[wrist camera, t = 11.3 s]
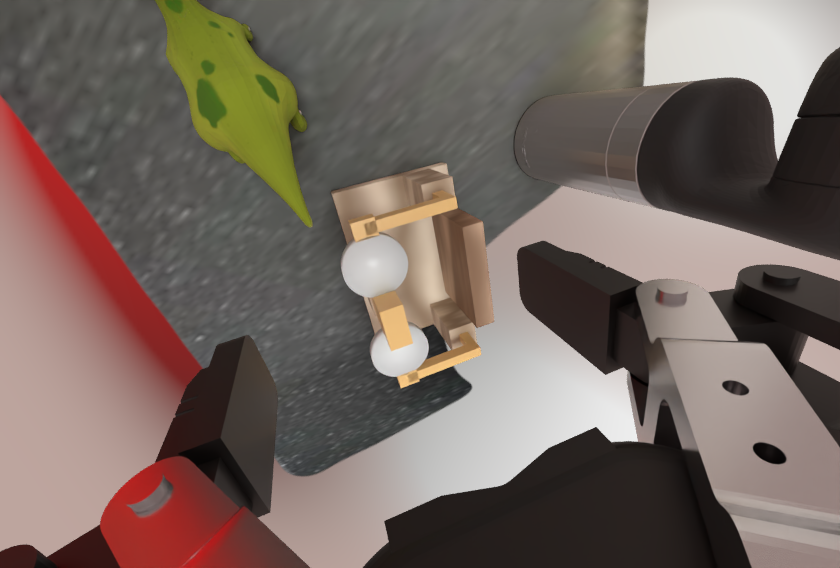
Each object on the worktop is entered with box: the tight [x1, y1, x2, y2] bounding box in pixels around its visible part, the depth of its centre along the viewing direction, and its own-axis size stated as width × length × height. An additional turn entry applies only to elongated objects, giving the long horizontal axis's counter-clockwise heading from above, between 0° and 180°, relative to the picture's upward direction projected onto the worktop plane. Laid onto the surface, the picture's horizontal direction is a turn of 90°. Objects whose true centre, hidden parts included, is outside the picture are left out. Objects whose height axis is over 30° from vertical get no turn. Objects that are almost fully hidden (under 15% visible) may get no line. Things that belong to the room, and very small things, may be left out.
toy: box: [155, 0, 313, 227], centre depth 26 cm, size 8×21×15 cm, turn 26°
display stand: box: [331, 163, 494, 350], centre depth 38 cm, size 12×19×10 cm, turn 12°
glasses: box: [341, 190, 481, 388], centre depth 33 cm, size 11×18×6 cm, turn 13°
